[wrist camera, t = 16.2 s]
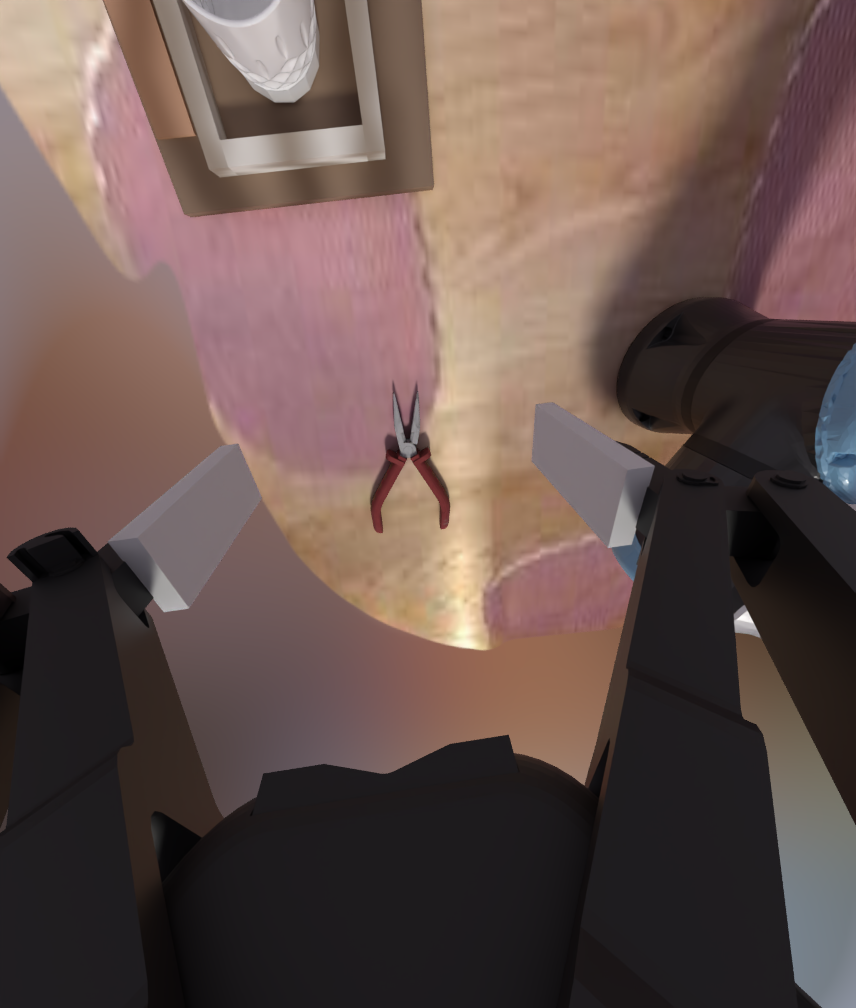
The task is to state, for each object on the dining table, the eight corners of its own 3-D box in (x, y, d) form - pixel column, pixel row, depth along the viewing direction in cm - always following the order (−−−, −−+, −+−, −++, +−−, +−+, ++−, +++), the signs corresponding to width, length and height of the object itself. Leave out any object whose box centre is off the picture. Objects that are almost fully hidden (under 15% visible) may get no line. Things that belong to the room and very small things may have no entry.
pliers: (452, 387, 40) (455, 393, 38) (448, 522, 51) (450, 532, 48) (357, 390, 39) (355, 396, 37) (373, 526, 50) (372, 537, 48)
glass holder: (405, -199, 20) (407, -275, 18) (432, 189, 30) (436, 178, 27) (46, -170, 20) (-8, -244, 17) (191, 217, 29) (171, 208, 27)
